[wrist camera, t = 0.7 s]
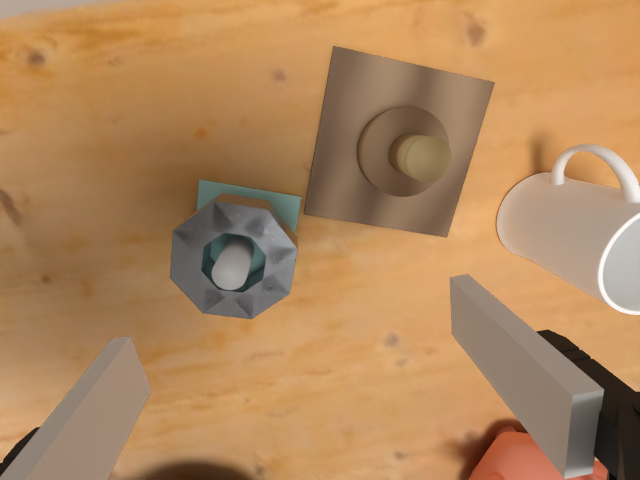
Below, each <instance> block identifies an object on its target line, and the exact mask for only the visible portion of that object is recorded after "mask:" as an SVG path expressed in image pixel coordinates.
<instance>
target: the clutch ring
mask: <svg viewBox="0 0 640 480" xmlns="http://www.w3.org/2000/svg"><path fill="white" fill-rule="evenodd" d="M223 233H231V234H237V235H244V236H250V237H251V238H252V239H253V240H254V241H255V243H256V244H257V245H258V246H259V248H260V249H261V250H262V251H263V253H264V254H265V255H266V263H265V265H264V266H263V267H261V268H260V269H258V270H257V271H255V272H254V273H252V274H251V275H249V276H248V277H247V278H246V281H245V283H244V284H243V285H242V286H241V287H240V288H238V289H235V290H225V289H222V288H220V287H219V286H217V285H216V284H215V282H214V281H213V279H212V269H213V266H214V265H215V262H214V260H213V259H212V258H211V257H210V252H211V242H212V241H213V240H214V239H216V238H217V237H218V236H220V235H221V234H223ZM297 250H298V248H297V236H296V235H295V234H294V232H293V231H292V230H291V228H290V227H289V226H288V224H287V223H286V222H285V220H284V219H283V218H282V216H281V215H280V214H279V212H278V211H277V210H276V208H275V207H274V206H273V204H272V203H271V202H270V201H268V200H262V199H256V198H250V197H244V196H238V195H232V194H226V193H221V194H220V195H219V196H217V197H216V198H214V199H213V200H212V201H210V202H209V203H207V204H206V205H205V206H203V207H202V208H201V209H199V210H198V211H196V212H195V213H194V214H192V215H191V216H189V217H188V218H187V219H185V220H184V221H183V222H182V223H181V224H180V225H179V226H178V227H176V228H175V229H174V230H173V239H172V254H171V270H170V278H171V279H172V281H173V282H174V283H175V284H176V285H177V286H178V287H179V288H180V289H181V290H182V291H183V292H184V293H185V294H186V295H187V297H188V298H189V299H190V300H191V301H192V302H193V303H194V304H195V305H196V306H197V307H198V308H199V309H200V310H201V312H202V313H205V314H213V315H221V316H229V317H238V318H246V319H252V318H254V317H255V316H257V315H258V314H260V313H261V312H263V311H264V310H266V309H268V308H269V307H271V306H272V305H274V304H275V303H277V302H278V301H280V300H281V299H283V298H284V297H286V296H287V295H289V294H290V289H291V284H292V278H293V272H294V267H295V261H296V256H297Z"/></svg>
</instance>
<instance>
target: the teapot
mask: <svg viewBox="0 0 640 480" xmlns="http://www.w3.org/2000/svg"><path fill="white" fill-rule="evenodd" d="M607 473H608V470H607V469H606V468H605V466H604V465H603V464H602V463H601V462H599V461H595V460H594V466H593V473H592V474H587V475H582V476H578V477H573V478H568V479H564V478H563V477H562V476H561V474H560V473H559V472H558V470H557V469H556V468H555V467H554V465H553V464H552V463H551V461H550V460H549V459H548V458H547V456H546V455H545V454H544V452H543V451H542V450H541V449H540V447H539V446H538V445H537V443H536V442H535V441H534V439H533V438H532V437H531V436H530V434H529V433H521V432H517V431H516V429H515V428H514V427H512V426H505V427H502V428H500V429H499V430H498V431H497V433H496V439H495V440H494V442H493V443H492V444H491V446H490V447H489V449H488V450H487V451H486V453H485V454H484V456H483V457H482V459H481V460H480V462H479V463H478V465H477V466H476V467H474V468H473V469H472V471H471V476H470V478H469V480H606V479H607Z"/></svg>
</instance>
